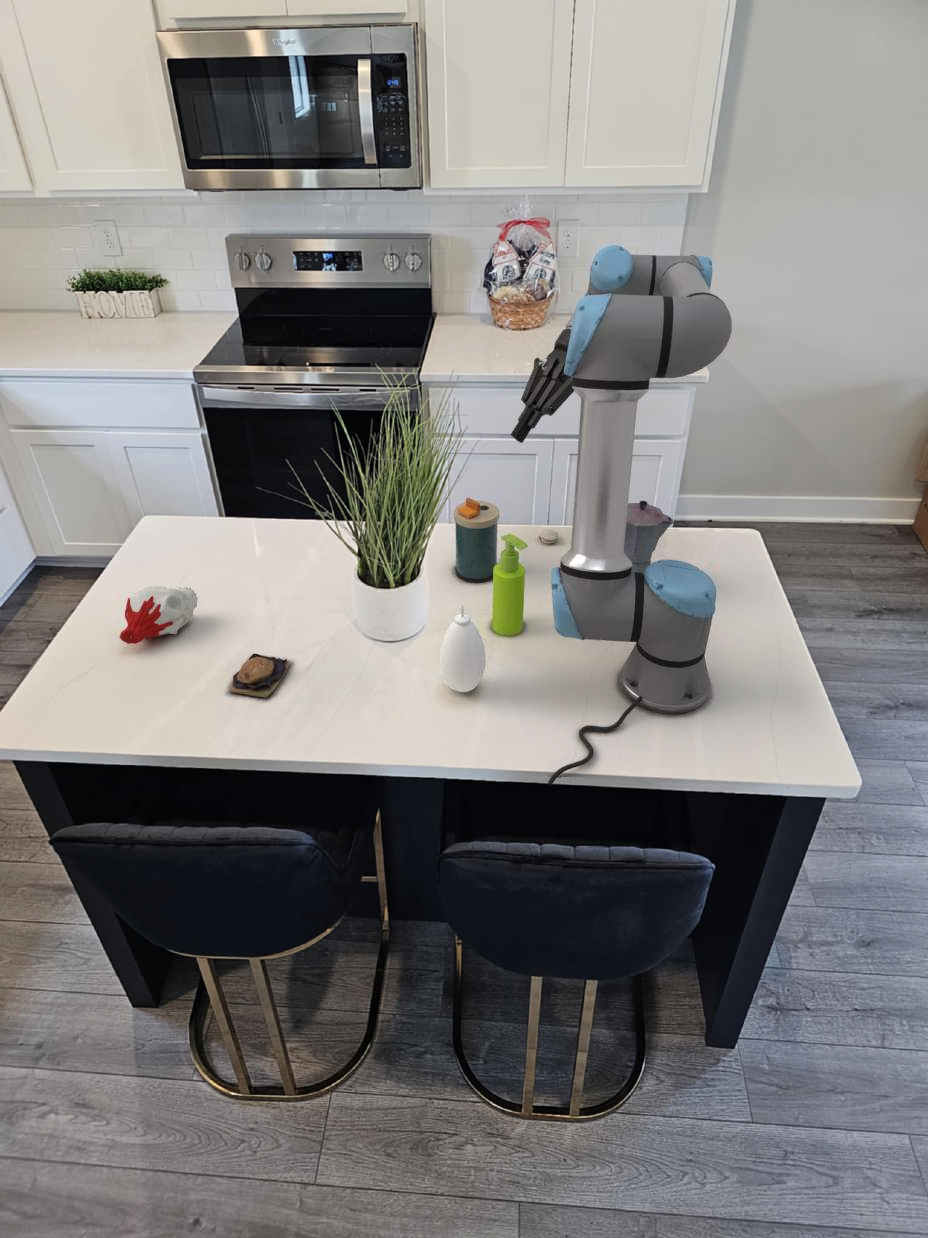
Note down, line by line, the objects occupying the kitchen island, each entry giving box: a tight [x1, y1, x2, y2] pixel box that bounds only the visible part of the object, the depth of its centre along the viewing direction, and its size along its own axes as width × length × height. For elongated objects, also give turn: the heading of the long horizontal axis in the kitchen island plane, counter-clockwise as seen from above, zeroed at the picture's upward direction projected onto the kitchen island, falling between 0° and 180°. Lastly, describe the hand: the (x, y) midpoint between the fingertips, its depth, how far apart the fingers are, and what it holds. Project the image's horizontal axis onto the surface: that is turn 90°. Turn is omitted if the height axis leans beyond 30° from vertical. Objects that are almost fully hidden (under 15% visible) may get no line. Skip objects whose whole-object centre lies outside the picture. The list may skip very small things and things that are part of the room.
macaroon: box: [538, 529, 559, 544], centre depth 191 cm, size 4×5×2 cm
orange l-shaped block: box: [458, 497, 480, 518], centre depth 170 cm, size 3×4×2 cm
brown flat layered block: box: [229, 652, 291, 699], centre depth 151 cm, size 11×8×4 cm
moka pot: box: [624, 500, 675, 573], centre depth 170 cm, size 10×15×20 cm, turn 78°
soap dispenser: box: [491, 533, 529, 637], centre depth 158 cm, size 6×7×20 cm
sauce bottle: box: [439, 603, 486, 693], centre depth 144 cm, size 8×8×18 cm
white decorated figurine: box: [119, 585, 199, 644], centre depth 161 cm, size 9×11×15 cm
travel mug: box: [453, 500, 500, 584], centre depth 177 cm, size 9×9×14 cm
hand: (516, 438), depth 170 cm, fingers closed
